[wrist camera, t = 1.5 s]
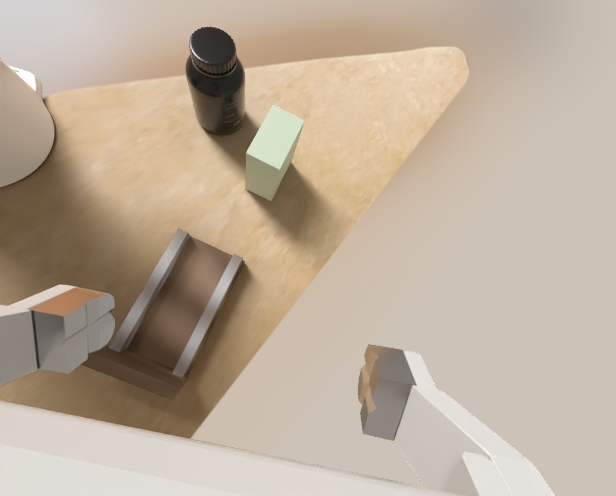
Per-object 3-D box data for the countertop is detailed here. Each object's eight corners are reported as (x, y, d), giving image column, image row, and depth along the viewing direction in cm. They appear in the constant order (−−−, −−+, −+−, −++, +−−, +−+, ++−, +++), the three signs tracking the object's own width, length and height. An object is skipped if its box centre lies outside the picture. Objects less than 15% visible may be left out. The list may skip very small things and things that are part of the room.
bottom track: (184, 382, 34) (171, 399, 28) (111, 353, 33) (80, 364, 27) (244, 262, 38) (244, 254, 32) (181, 233, 37) (168, 218, 31)
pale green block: (271, 201, 41) (279, 169, 31) (245, 188, 41) (245, 152, 31) (290, 162, 43) (304, 121, 33) (266, 149, 42) (273, 104, 33)
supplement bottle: (185, 114, 41) (162, 39, 29) (218, 86, 43) (209, 6, 31) (223, 146, 41) (215, 84, 30) (254, 117, 43) (258, 48, 32)
